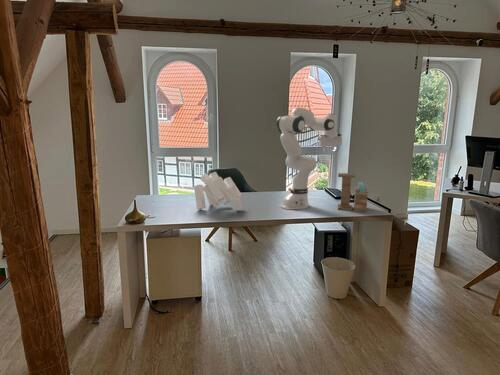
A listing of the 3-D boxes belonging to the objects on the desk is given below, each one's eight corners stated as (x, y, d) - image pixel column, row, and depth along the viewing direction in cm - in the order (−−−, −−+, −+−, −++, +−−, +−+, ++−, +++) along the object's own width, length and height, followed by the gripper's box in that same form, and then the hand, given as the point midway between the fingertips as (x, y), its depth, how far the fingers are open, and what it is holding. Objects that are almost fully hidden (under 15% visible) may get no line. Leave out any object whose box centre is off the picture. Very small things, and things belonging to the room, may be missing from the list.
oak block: (354, 206, 267) (355, 187, 264) (365, 207, 265) (366, 188, 262) (354, 211, 256) (356, 191, 253) (366, 211, 254) (367, 191, 251)
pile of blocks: (245, 210, 276) (232, 169, 282) (247, 206, 247) (231, 160, 252) (203, 224, 273) (190, 182, 278) (199, 221, 244) (185, 175, 249)
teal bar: (358, 186, 268) (358, 181, 268) (362, 186, 267) (363, 182, 267) (359, 192, 248) (359, 188, 247) (364, 193, 247) (365, 188, 246)
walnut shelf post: (336, 206, 269) (338, 172, 264) (352, 206, 267) (354, 173, 261) (336, 209, 260) (338, 175, 254) (353, 210, 257) (355, 175, 251)
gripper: (321, 135, 273) (320, 152, 276) (343, 134, 280) (342, 151, 283) (317, 134, 278) (316, 151, 281) (338, 133, 286) (338, 150, 289)
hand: (329, 151), depth 282 cm, fingers open, 8 cm apart
